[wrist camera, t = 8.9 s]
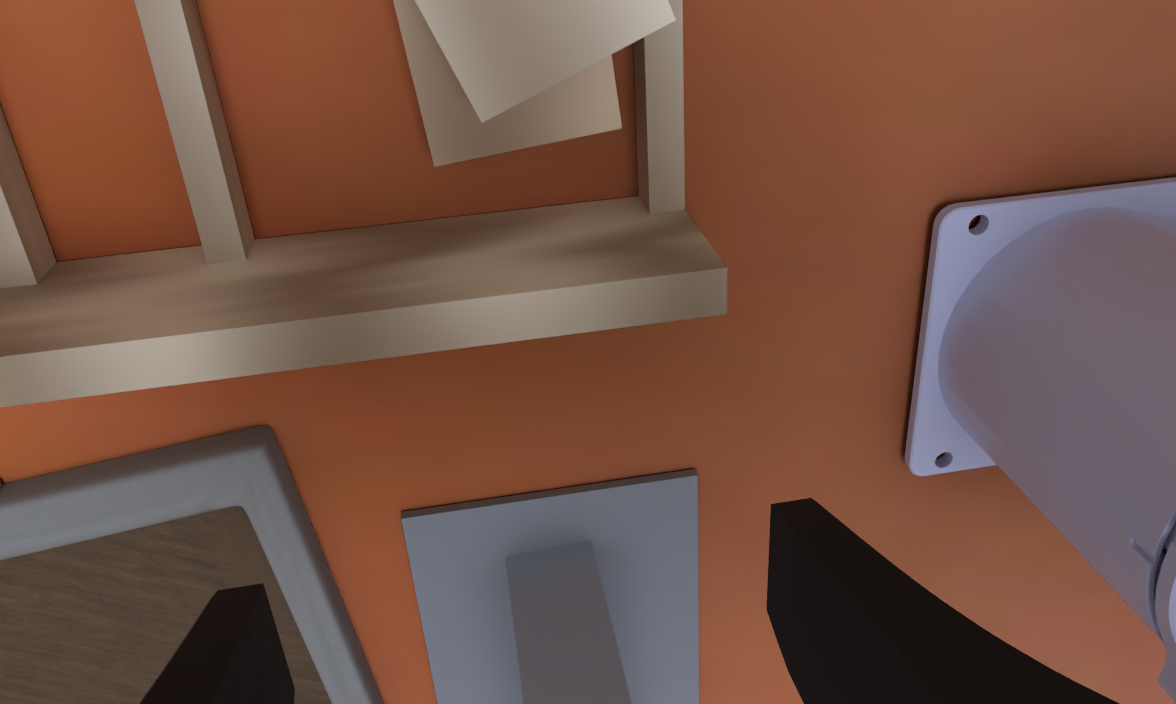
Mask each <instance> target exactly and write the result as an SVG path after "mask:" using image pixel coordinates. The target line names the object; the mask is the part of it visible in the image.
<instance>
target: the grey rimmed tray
mask: <svg viewBox="0 0 1176 704" xmlns="http://www.w3.org/2000/svg"><path fill="white" fill-rule="evenodd" d="M261 583H263V584H264V587H265V591H266V594H267V597H268V601H269V604H270V607H271V611H272V614H273V617H274V621H275V624H276V627H277V631H278V634H279V637H280V641H281V644H282V647H283V651H284V654H285V658H286V661H287V664H288V668H289V671H290V674H291V678H292V681H293V684H294V688H295V698H294V704H384V702H383V700H382V697H381V695H380V692H379V690H378V687H377V685H376V682H375V680H374V677H373V675H372V672H371V670H370V667H369V665H368V663H367V660H366V658H365V655H364V653H363V650H362V648H361V645H360V643H359V640H358V638H357V635H356V633H355V631H354V628H353V626H352V623H351V621H350V618H349V616H348V613H347V611H346V608H345V606H344V603H343V601H342V598H341V596H340V594H339V591H338V589H337V586H336V584H335V581H334V579H333V576H332V574H331V571H330V569H329V566H328V564H327V562H326V559H325V557H324V554H323V552H322V549H321V547H320V544H319V542H318V539H317V537H316V534H315V532H314V530H313V527H312V525H311V522H310V520H309V517H308V515H307V512H306V510H305V507H304V505H303V502H302V500H301V497H300V495H299V493H298V490H297V488H296V485H295V483H294V480H293V478H292V475H291V473H290V470H289V468H288V465H287V463H286V461H285V458H284V456H283V453H282V451H281V449H280V446H279V444H278V442H277V439H276V437H275V435H274V433H273V431H272V429H271V427H269V426H266V425H262V426H256V427H251V428H246V429H241V430H237V431H232V432H228V433H224V434H219V435H215V436H210V437H206V438H202V439H197V440H193V441H189V442H184V443H180V444H176V445H171V446H167V447H163V448H158V449H154V450H149V451H145V452H141V453H136V454H132V455H128V456H123V457H119V458H115V459H110V460H106V461H102V462H97V463H93V464H88V465H84V466H80V467H75V468H71V469H67V470H62V471H58V472H54V473H49V474H45V475H41V476H36V477H32V478H27V479H23V480H19V481H14V482H10V483H6V484H2V482H1V480H0V704H139V703H140V702H141V700H142V699H143V697H144V696H145V695H146V693H147V692H148V690H149V689H150V688H151V686H152V685H153V683H154V682H155V681H156V679H157V678H158V676H159V675H160V674H161V672H162V671H163V669H164V668H165V666H166V665H167V663H168V662H169V660H170V659H171V657H172V656H173V655H174V653H175V652H176V650H177V649H178V647H179V646H180V644H181V643H182V641H183V640H184V638H185V637H186V635H187V634H188V632H189V631H190V629H191V628H192V626H193V625H194V623H195V621H196V620H197V618H198V617H199V615H200V614H201V612H202V611H203V609H204V608H205V606H206V605H207V603H208V602H209V600H210V599H211V597H212V596H213V595H214V594H215V593H216V592H217V590H222V589H229V588H235V587H242V586H248V585H254V584H261Z"/></svg>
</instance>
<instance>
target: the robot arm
mask: <svg viewBox="0 0 1176 704" xmlns="http://www.w3.org/2000/svg"><path fill="white" fill-rule="evenodd" d="M978 215H980V217H981V219H980V221H979V224H978V225H976V226H975V227H974V228H972V229H969V227H968V226H969V224H970V221H971V220H972V219H973V218H974V217H976V216H978ZM944 452H945V454H944V456H943V457H941V458H940V459H937V460H936V458H937V457H938V456H939V455H940V454H942V453H944ZM905 464H906V465H907V467H908V468H909V469H910V471H911V472H912V473H913V474H915V475H917V476H928V475H935V474H942V473H948V472H955V471H961V470H968V469H975V468H981V467H988V466H994V465H997V466H998V467H999V468H1000V469H1001V470H1002V471H1003V472H1004V473H1005V474H1006V475H1007V476H1008V477H1009V478H1010V479H1011V481H1012V482H1013V483H1014V484H1015V485H1016V486H1017V487H1018V488H1019V489H1020V490H1021V491H1022V492H1023V493H1024V494H1025V495H1026V497H1027V498H1028V499H1029V500H1030V501H1031V502H1032V503H1033V504H1034V505H1035V506H1036V507H1037V508H1038V509H1039V510H1040V512H1041V513H1042V514H1043V515H1044V516H1045V517H1046V518H1047V519H1048V520H1049V521H1050V522H1051V523H1052V524H1053V525H1054V526H1055V528H1056V529H1057V530H1058V531H1059V532H1060V533H1061V534H1062V535H1063V536H1064V537H1065V538H1066V539H1067V540H1068V541H1069V542H1070V544H1071V545H1072V546H1073V547H1074V548H1075V549H1076V550H1077V551H1078V552H1079V553H1080V554H1081V555H1082V556H1083V557H1084V559H1085V560H1086V561H1087V562H1088V563H1089V564H1090V565H1091V566H1092V567H1093V568H1094V569H1095V570H1096V571H1097V572H1098V573H1099V575H1100V576H1101V577H1102V578H1103V579H1104V580H1105V581H1106V582H1107V583H1108V584H1109V585H1110V586H1111V587H1112V588H1113V589H1114V591H1115V592H1116V593H1117V594H1118V595H1119V596H1120V597H1121V598H1122V599H1123V600H1124V601H1125V602H1126V603H1127V604H1128V606H1129V607H1130V608H1131V609H1132V610H1133V611H1134V612H1135V613H1136V614H1137V615H1138V616H1139V617H1140V618H1141V619H1142V620H1143V622H1144V623H1145V624H1146V625H1147V626H1148V627H1149V628H1150V629H1151V630H1152V631H1153V632H1154V633H1155V634H1156V635H1157V636H1158V638H1159V639H1160V640H1161V641H1162V642H1163V643H1164V644H1165V647H1166V661H1165V665H1164V668H1163V670H1162V672H1161V675H1160V677H1159V680H1158V683H1159V684H1160V686H1161V687H1162V688H1163V689H1164V690H1165V691H1166V692H1167V694H1168V695H1169V696H1170V697H1171V698H1172V699H1173V700H1174V701H1175V703H1176V177H1173V178H1164V179H1156V180H1147V181H1139V182H1130V183H1122V184H1113V185H1105V186H1096V187H1088V188H1079V189H1071V190H1063V191H1054V192H1046V193H1037V194H1029V195H1020V196H1012V197H1003V198H995V199H986V200H978V201H969V202H961V203H954V204H951V205H948V206H946V207H945V208H943V209H942V210H941V211H940V212H939V213H938V215H937V216H936V218H935V221H934V224H933V231H932V239H931V247H930V255H929V263H928V271H927V279H926V288H925V296H924V304H923V312H922V320H921V328H920V336H919V344H918V352H917V361H916V369H915V377H914V385H913V393H912V401H911V409H910V417H909V425H908V434H907V442H906V450H905ZM767 612H768V615H769V618H770V621H771V624H772V627H773V629H774V632H775V635H776V638H777V641H778V644H779V647H780V650H781V652H782V655H783V658H784V660H785V663H786V666H787V669H788V671H789V674H790V676H791V678H792V680H793V682H794V684H795V686H796V688H797V690H798V692H799V694H800V696H801V698H802V700H803V702H804V704H1119V703H1117V702H1115V701H1113V700H1111V699H1109V698H1107V697H1105V696H1103V695H1101V694H1099V693H1097V692H1095V691H1093V690H1091V689H1089V688H1087V687H1085V686H1083V685H1081V684H1079V683H1077V682H1075V681H1073V680H1071V679H1069V678H1067V677H1065V676H1063V675H1062V674H1060V673H1058V672H1056V671H1054V670H1052V669H1050V668H1049V667H1047V666H1045V665H1043V664H1042V663H1040V662H1038V661H1037V660H1035V659H1033V658H1031V657H1030V656H1028V655H1026V654H1024V653H1023V652H1021V651H1019V650H1018V649H1016V648H1014V647H1012V646H1011V645H1009V644H1007V643H1006V642H1004V641H1002V640H1001V639H999V638H998V637H996V636H994V635H993V634H991V633H990V632H988V631H986V630H985V629H983V628H982V627H980V626H979V625H977V624H976V623H974V622H973V621H971V620H970V619H968V618H967V617H965V616H964V615H962V614H961V613H959V612H958V611H956V610H955V609H954V608H952V607H951V606H949V605H948V604H946V603H945V602H943V601H942V600H940V599H939V598H938V597H936V596H935V595H934V594H932V593H931V592H929V591H928V590H927V589H925V588H924V587H923V586H921V585H920V584H919V583H917V582H916V581H915V580H913V579H912V578H911V577H909V576H908V575H907V574H905V573H904V572H903V571H901V570H900V569H899V568H897V567H896V566H895V565H894V564H892V563H891V562H890V561H889V560H887V559H886V558H885V557H883V556H882V555H881V554H880V553H878V552H877V551H876V550H875V549H873V548H872V547H871V546H870V545H869V544H867V543H866V542H865V541H864V540H862V539H861V538H860V537H859V536H857V535H856V534H855V533H854V532H853V531H851V530H850V529H849V528H848V527H846V526H845V525H844V524H843V523H842V522H840V521H839V520H838V519H837V518H835V517H834V516H833V515H832V514H831V513H829V512H828V511H827V510H826V509H824V508H823V507H822V506H821V505H820V504H818V503H817V502H816V501H815V500H813V499H812V498H808V499H801V500H795V501H789V502H782V503H776V504H771V518H770V542H769V566H768V589H767ZM294 698H295V688H294V684H293V681H292V678H291V674H290V671H289V668H288V664H287V661H286V658H285V654H284V651H283V647H282V644H281V641H280V637H279V634H278V631H277V627H276V624H275V621H274V617H273V614H272V611H271V607H270V604H269V601H268V597H267V594H266V591H265V587H264V584H263V583H261V584H254V585H248V586H242V587H235V588H229V589H222V590H217V592H216V593H215V594H214V595H213V596H212V597H211V599H210V600H209V602H208V603H207V605H206V606H205V608H204V609H203V611H202V612H201V614H200V615H199V617H198V618H197V620H196V621H195V623H194V625H193V626H192V628H191V629H190V631H189V632H188V634H187V635H186V637H185V638H184V640H183V641H182V643H181V644H180V646H179V647H178V649H177V650H176V652H175V653H174V655H173V656H172V657H171V659H170V660H169V662H168V663H167V665H166V666H165V668H164V669H163V671H162V672H161V674H160V675H159V676H158V678H157V679H156V681H155V682H154V683H153V685H152V686H151V688H150V689H149V690H148V692H147V693H146V695H145V696H144V697H143V699H142V700H141V702H140V703H139V704H294Z"/></svg>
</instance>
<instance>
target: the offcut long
mask: <svg viewBox="0 0 1176 704" xmlns="http://www.w3.org/2000/svg"><path fill="white" fill-rule="evenodd" d="M393 3H394V7H395V11H396V15H397V19H398V23H399V27H400V31H401V35H402V39H403V43H404V47H405V51H406V55H407V59H408V63H409V67H410V71H411V75H412V79H413V83H414V87H415V91H416V95H417V99H418V103H419V107H420V111H421V115H422V119H423V123H424V127H425V131H426V135H427V139H428V143H429V147H430V151H431V156H432V160H433V164H434V167H437V166H442V165H447V164H452V163H456V162H461V161H466V160H471V159H476V158H481V157H486V156H490V155H495V154H500V153H505V152H510V151H515V150H520V149H524V148H529V147H534V146H539V145H544V144H549V143H554V142H558V141H563V140H568V139H573V138H578V137H583V136H588V135H593V134H597V133H602V132H607V131H612V130H617V129H622V124H621V117H620V110H619V103H618V96H617V89H616V82H615V75H614V68H613V61H612V54H611V55H609V56H607V57H606V58H604V59H602V60H600V61H598V62H596V63H594V64H592V65H590V66H589V67H587V68H585V69H583V70H581V71H579V72H577V73H575V74H573V75H572V76H570V77H568V78H566V79H564V80H562V81H560V82H558V83H557V84H555V85H553V86H551V87H549V88H547V89H545V90H543V91H541V92H540V93H538V94H536V95H534V96H532V97H530V98H528V99H526V100H524V101H523V102H521V103H519V104H517V105H515V106H513V107H511V108H509V109H507V110H506V111H504V112H502V113H500V114H498V115H496V116H494V117H492V118H491V119H489V120H487V121H485V122H483V123H482V122H481V120H480V119H479V117H478V115H477V113H476V111H475V110H474V108H473V106H472V104H471V102H470V100H469V99H468V97H467V95H466V93H465V91H464V89H463V88H462V86H461V84H460V82H459V80H458V79H457V77H456V75H455V73H454V71H453V69H452V68H451V66H450V64H449V62H448V60H447V58H446V57H445V55H444V53H443V51H442V49H441V47H440V46H439V44H438V42H437V40H436V38H435V37H434V35H433V33H432V31H431V29H430V27H429V26H428V24H427V22H426V20H425V18H424V16H423V15H422V13H421V11H420V9H419V7H418V6H417V4H416V2H415V0H393Z"/></svg>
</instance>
